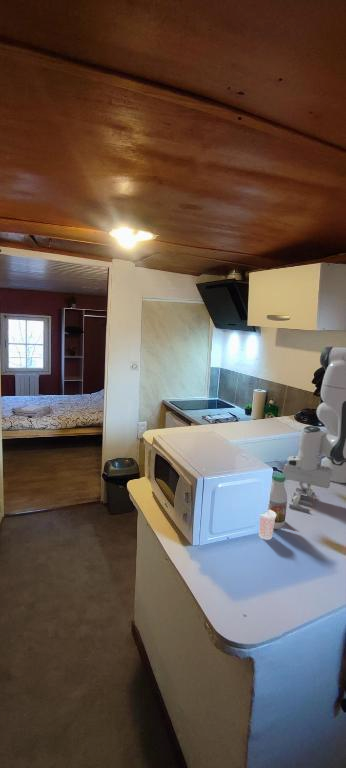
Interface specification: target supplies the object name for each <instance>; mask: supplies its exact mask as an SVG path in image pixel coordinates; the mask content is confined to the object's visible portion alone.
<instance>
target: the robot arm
mask: <svg viewBox="0 0 346 768" xmlns="http://www.w3.org/2000/svg"><path fill="white" fill-rule="evenodd" d="M319 363H320V366H321V367H322V368H323V369H324V371H325V373H324V375H323V377H322V378H323V379H322V383H321V387H320V398H321V401H323V402H321V403H320V404H319V405H318V406H317V408H316V416H317V418H318V420H319V421H320V422H321V423H322V424H323V425H324V426H325V429H326V431H324V430H321V428H320V427H318V426H315V425H309V426H305V427H303V428H302V430H301V433H300V438H299V443H298V445H299V446H298V448H299V450H298V453H297V455H290V456H288V457H287V458H286V463H285V465H284V467H283V469H282V473H281V474H282V475H284V476H285V480H290V481H293V482H294V481H295V482H298V484H299V486H300V489H301V492H305V493H307V490H308V489H309V488H310V487H311V486H314V487H319V488H324V489H329V488H330V486H331V482H333V483H334V482H335V483H339V484H346V347H342V346H341V347H339V346H337V347H336V346H325V348H323V349H322V351H321V353H320V356H319ZM320 454H321V455H323V456H325V457H323V458H322V459H321V464H319V462H320ZM303 484H307V485H306V487H304V485H303ZM305 493H304V494H305Z"/></svg>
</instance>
